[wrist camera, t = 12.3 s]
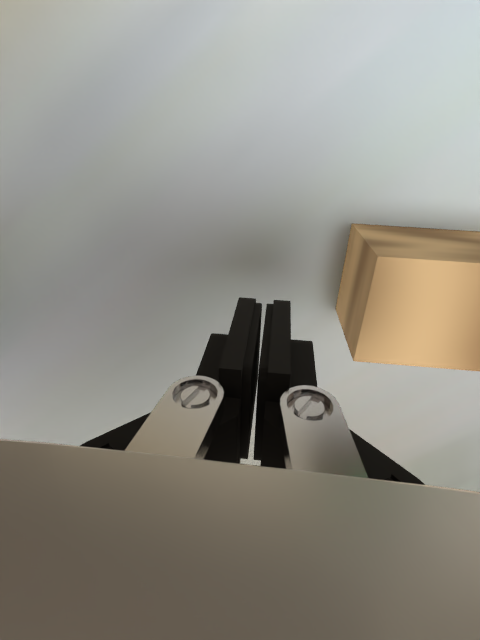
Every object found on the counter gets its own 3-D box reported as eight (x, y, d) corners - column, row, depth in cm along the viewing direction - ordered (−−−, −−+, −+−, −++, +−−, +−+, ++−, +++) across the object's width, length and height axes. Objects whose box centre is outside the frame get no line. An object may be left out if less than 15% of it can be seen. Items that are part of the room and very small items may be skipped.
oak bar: (335, 307, 19) (353, 361, 15) (350, 222, 17) (377, 256, 13) (528, 321, 19) (605, 381, 15) (569, 236, 17) (674, 276, 12)
